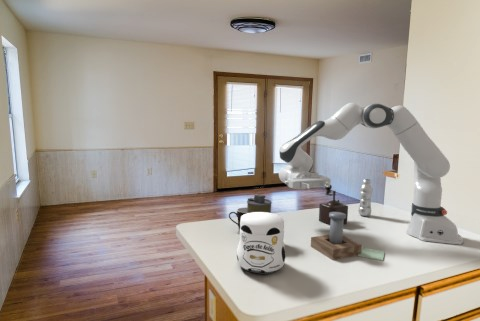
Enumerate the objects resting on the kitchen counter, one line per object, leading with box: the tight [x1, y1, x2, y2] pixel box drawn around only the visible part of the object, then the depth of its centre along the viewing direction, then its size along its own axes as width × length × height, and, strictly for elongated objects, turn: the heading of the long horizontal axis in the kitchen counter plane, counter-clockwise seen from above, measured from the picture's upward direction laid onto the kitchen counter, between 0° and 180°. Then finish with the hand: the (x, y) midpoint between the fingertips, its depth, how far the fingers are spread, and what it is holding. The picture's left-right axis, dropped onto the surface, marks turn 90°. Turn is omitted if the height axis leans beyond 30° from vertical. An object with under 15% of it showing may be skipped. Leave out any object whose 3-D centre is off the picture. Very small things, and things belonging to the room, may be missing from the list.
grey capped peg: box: [329, 212, 346, 245], centre depth 137 cm, size 6×6×15 cm
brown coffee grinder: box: [318, 184, 349, 226], centre depth 175 cm, size 16×11×18 cm
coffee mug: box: [228, 207, 247, 233], centre depth 159 cm, size 12×9×10 cm
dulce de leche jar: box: [236, 212, 286, 274], centre depth 121 cm, size 17×17×18 cm
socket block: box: [310, 233, 363, 261], centre depth 138 cm, size 14×14×4 cm
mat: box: [357, 247, 385, 262], centre depth 135 cm, size 9×9×1 cm
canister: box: [246, 193, 273, 213], centre depth 146 cm, size 11×10×20 cm
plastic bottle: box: [358, 178, 374, 217], centre depth 185 cm, size 6×7×20 cm
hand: (319, 186), depth 146 cm, fingers open, 8 cm apart
